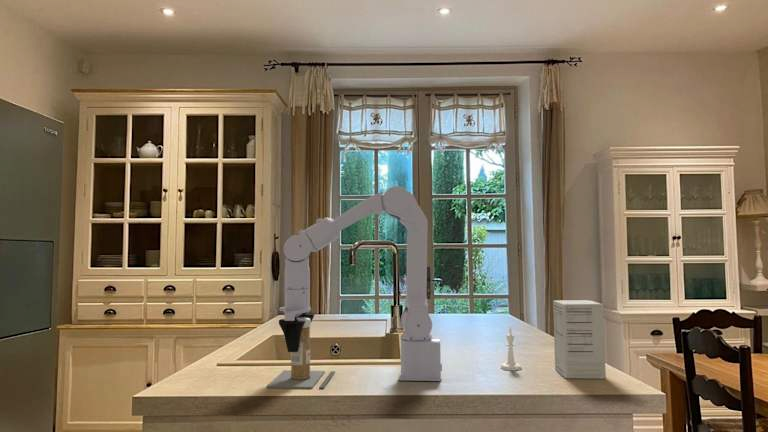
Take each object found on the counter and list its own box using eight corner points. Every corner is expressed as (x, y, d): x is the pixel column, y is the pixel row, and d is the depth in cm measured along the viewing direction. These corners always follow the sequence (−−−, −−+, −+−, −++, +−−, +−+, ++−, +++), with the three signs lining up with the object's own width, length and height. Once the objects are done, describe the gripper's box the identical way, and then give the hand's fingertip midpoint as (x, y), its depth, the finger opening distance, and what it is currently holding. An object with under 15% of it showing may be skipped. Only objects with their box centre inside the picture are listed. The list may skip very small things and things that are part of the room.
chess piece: (500, 370, 129) (499, 328, 130) (501, 365, 134) (500, 325, 134) (521, 371, 128) (520, 329, 129) (521, 366, 133) (520, 325, 133)
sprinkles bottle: (314, 377, 121) (314, 318, 122) (297, 381, 118) (297, 320, 119) (303, 374, 125) (303, 316, 125) (286, 377, 122) (286, 318, 122)
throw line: (335, 372, 128) (335, 371, 128) (323, 388, 114) (323, 387, 114) (331, 372, 128) (331, 371, 128) (319, 388, 114) (319, 387, 114)
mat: (324, 372, 128) (324, 370, 128) (312, 388, 114) (312, 386, 114) (283, 372, 129) (283, 370, 129) (266, 388, 115) (266, 386, 115)
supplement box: (606, 379, 120) (605, 304, 121) (565, 379, 120) (563, 304, 121) (592, 369, 129) (590, 299, 130) (553, 369, 130) (552, 299, 131)
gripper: (288, 285, 130) (288, 342, 129) (270, 291, 115) (270, 354, 115) (316, 285, 129) (317, 342, 128) (303, 291, 115) (302, 355, 114)
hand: (297, 348), depth 122 cm, fingers open, 7 cm apart
